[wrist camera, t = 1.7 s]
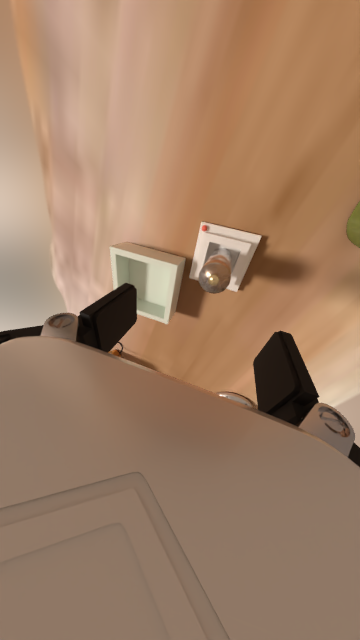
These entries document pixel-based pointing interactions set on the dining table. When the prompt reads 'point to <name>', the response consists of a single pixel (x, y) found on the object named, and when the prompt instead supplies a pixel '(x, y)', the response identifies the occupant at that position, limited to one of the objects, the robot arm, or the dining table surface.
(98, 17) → the dining table surface
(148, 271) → the white open box
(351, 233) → the plant pot
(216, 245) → the checker cradle
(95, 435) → the robot arm
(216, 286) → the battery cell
